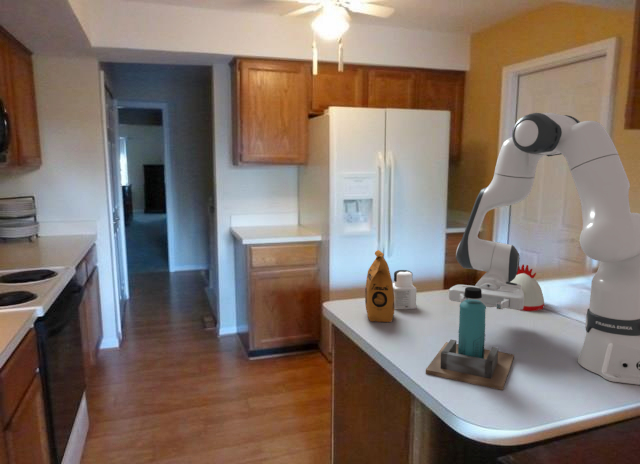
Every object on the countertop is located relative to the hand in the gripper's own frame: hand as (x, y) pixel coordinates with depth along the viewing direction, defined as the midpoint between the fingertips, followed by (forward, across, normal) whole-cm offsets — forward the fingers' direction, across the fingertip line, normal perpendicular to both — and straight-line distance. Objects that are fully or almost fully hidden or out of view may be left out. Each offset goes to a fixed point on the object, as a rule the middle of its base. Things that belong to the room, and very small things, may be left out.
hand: (481, 304), depth 126 cm
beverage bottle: (+12, 0, +13) cm, 18 cm away
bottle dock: (+10, 0, +14) cm, 17 cm away
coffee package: (-14, -35, +14) cm, 40 cm away
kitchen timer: (-51, +6, +14) cm, 53 cm away
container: (-29, -32, +14) cm, 45 cm away
